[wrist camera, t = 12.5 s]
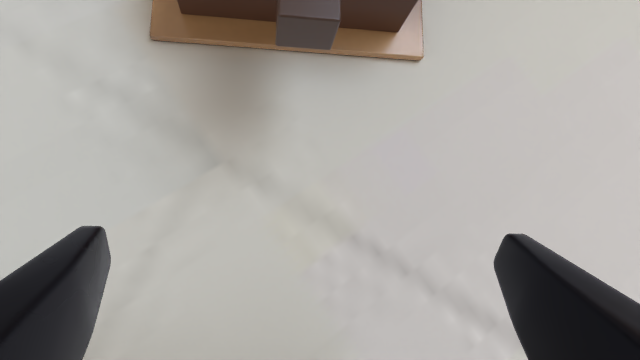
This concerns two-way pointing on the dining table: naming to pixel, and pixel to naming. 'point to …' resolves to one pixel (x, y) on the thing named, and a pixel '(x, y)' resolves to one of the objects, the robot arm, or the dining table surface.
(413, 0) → the cake
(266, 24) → the cake board
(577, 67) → the dining table surface
